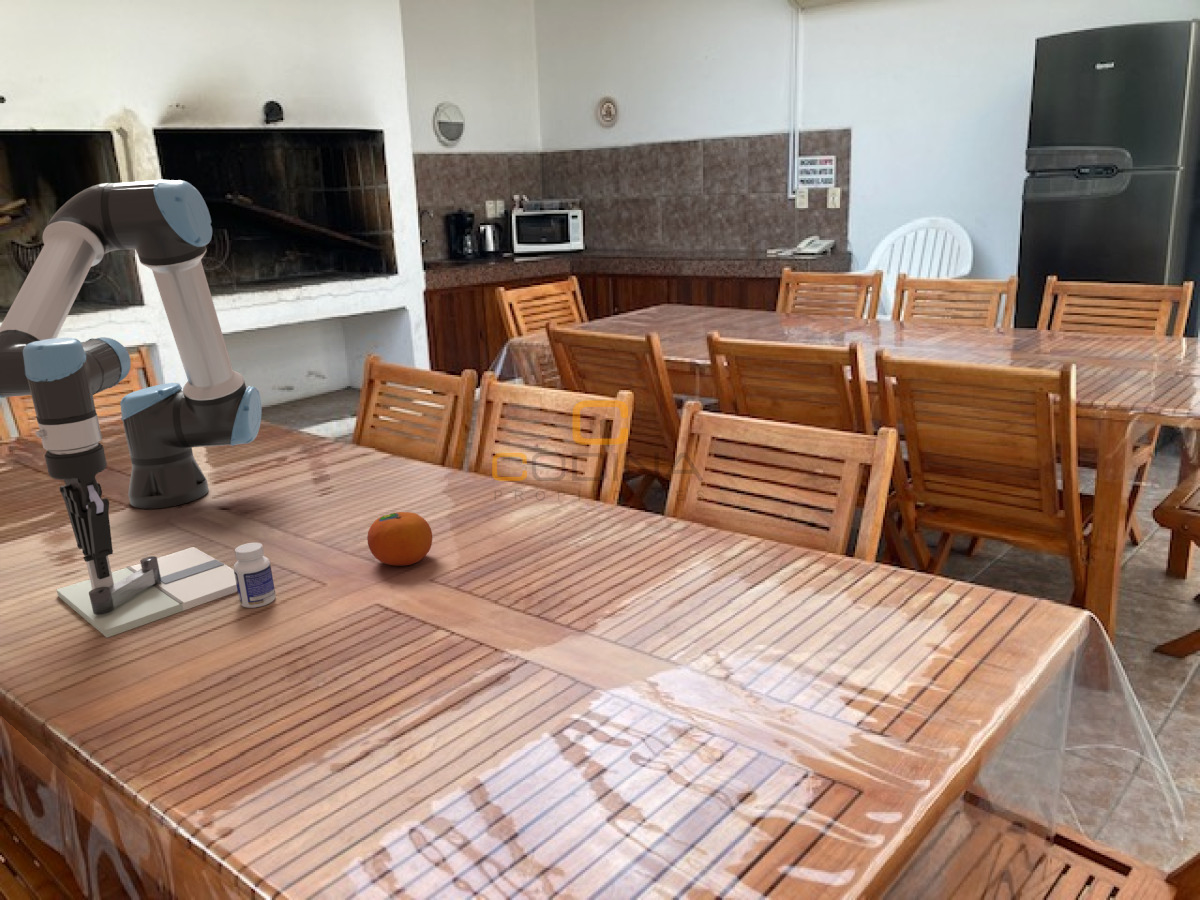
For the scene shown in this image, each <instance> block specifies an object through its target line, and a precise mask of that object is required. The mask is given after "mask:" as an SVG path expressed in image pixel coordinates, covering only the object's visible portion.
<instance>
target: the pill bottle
mask: <svg viewBox="0 0 1200 900" xmlns="http://www.w3.org/2000/svg"><path fill="white" fill-rule="evenodd" d="M264 553H265V552H264V547H263V544H262V543H260V542H248V543H243V544H241V545H239V546H237V547H236V548H235V549H234V554H235V559H236V562H235V563H234V564H233V569H234V574H235V579H236V585H237V590H238V591H237V596H238V601H239V605H241V606H242V607H244V608H248V609H249V608H252V609H254V608H259V607H264V606H266V605H268V604H271V603H272V602H273V601H274V600H275V599H276V596H277V595H276V588H275V582H274V579H273V571H272V565H271V562H270V559H269V558H268V557H267V556H264V555H265V554H264Z"/></svg>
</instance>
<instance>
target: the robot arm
mask: <svg viewBox="0 0 1200 900" xmlns="http://www.w3.org/2000/svg"><path fill="white" fill-rule="evenodd" d="M211 224H212V218H211V215H210V211H209V208H208V206H207V204H206V201H205V200H204V198H203V195H202V194H201V193H200V191H199V190H198V189H197V188H196V187H195V186H194V185H192V183H190V182H188V181H185V180H181V179H178V180H174V179H171V180H170V179H161V178H160V179H153V180H140V181H127V182H104V183H99V184H96V185H92V186H90V187H88V188H85V189H83V190H82V191H80V192H78V193H77V194H75V195H74V196H72V197H71V198H70V199H68V200H67V201H66V202H65V203H64V204H63V205H62V206H61V207H59V209H58V210H57V211H55V213H54V214H53V215H52V217H51V218H50V220H49V221H48V223H47V224H46V227H45V228H44V230H43V233H42V242H43V246H42V249H41V251H40V252H39V253H38V256H37V257H36V260H35V262H34V263H33V265H32V267H31V269H30V271H29V272H28V275H27V276H26V279H25V280H24V281H23V283H22V285H21V288H20V289H19V292H18V293H17V295H16V297H15V299H14V300H13V303H12V304H11V306H10V308H9V310H8V311H7V313H6V315H5V316H4V319H3V321H2V322H1V325H0V399H3V398H9V397H10V398H11V397H21V396H24V397H25V396H31V400H32V404H33V407H34V411H35V415H36V422H37V425H38V428H39V430H37V431H35V435H36V437H37V438H40V440H41V444H42V448H43V449H44V450H46V452H45V454H44V459H45V464H46V469H47V472H48V473H47V474H48V475H49V477H50V478H52V479H53V480H54V479H55V480H62V481H63V480H64V481H63V482H64V485H61V486H59V493H60V494H61V496H62V498H63V501H64V504H65V508H66V510H67V514H68V517H69V522H70V524H71V528H72V531H73V535H74V538H75V542H76V545H77V548H78V549H79V550H81V551H82V555H83V559H84V561H85V563H86V567H87V571H88V576H89V579H90V582H91V586H92V590H93V589H95V588H99V587H110V586H112V585H114V582H113V578H112V573H111V572H112V570H111V565H110V560H109V556H110V555H113V554H114V553H113V552H114V550H113V549H114V548H113V542H112V534H111V524H110V514H109V511H110V501H109V499H108V498H107V497H105V498H102V495H103V490H102V486H101V484H100V482H97V479H96V475H97V474H98V473H101V472H103V471H104V470H106V468H107V463H108V462H107V459H106V454H105V448H104V445H103V444H102V443H100V442H101V440H102V439H103V437H102V432H101V431H102V430H101V427H100V421H99V418H98V413H97V410H96V406H95V405H96V404H95V400H94V395H96V394H98V393H101V392H103V391H105V390H107V389H111V388H113V387H116V386H117V385H118V384H119V383H120V382H121V381H123V380H124V379H125V378H126V377H127V376H128V374H129V372H130V370H131V364H132V362H131V357H130V354H129V351H128V350H127V349H126V348H125V346H124V345H123V344H122V343H120V342H119V341H118V340H116V339H115V338H110V337H97V338H89V339H87V340H85V341H80V340H79V339H77V338H73V337H58V335H59V334H60V333H61V330H62V327H63V326H64V323H65V321H66V319H67V317H68V316H69V313H70V311H71V308H72V307H73V304H74V302H75V300H76V298H77V297H78V294H79V293H80V290H81V288H82V286H83V284H84V282H85V279H86V278H87V276H88V273H89V271H90V269H91V267H95V266H96V265H98V264H99V263H101V261H102V260H103V258H104V256H105V255H106V254H108V253H110V252H114V251H122V250H123V251H126V250H128V251H129V250H130V251H131V250H132V251H133V250H135V251H136V254H137V257H138V259H139V263H140V264H141V265H143V266H144V267H147V268H149V269H150V270H151V271H152V273H153V277H154V279H155V284H156V286H157V289H158V293H159V295H160V299H161V301H162V304H163V309H164V311H165V314H166V316H167V320H168V323H169V326H170V330H171V332H172V335H173V339H174V342H175V345H176V347H177V350H178V354H179V357H180V360H181V364H182V367H183V369H184V371H185V376H186V379H187V382H185V384H184V386H183V387H182V386H181V384H180V383H179V382H168V383H162V384H157V385H152V386H149V387H145V388H141V389H138V390H136V391H132V392H130V393H128V394H126V395H125V396H123V397H122V398H121V400H120V404H119V405H120V413H121V421H122V423H123V429H124V434H125V438H126V444H127V447H128V452H129V457H130V462H131V473H130V479H129V486H128V493H127V494H128V499H129V504H130V506H132V507H134V508H137V509H144V510H145V509H147V510H148V509H149V510H150V509H151V510H152V509H163V508H170V507H176V506H180V505H183V504H188V503H191V502H194V501H196V500H198V499H201V498H202V497H204V496H206V494H208V493H209V490H210V489H209V484H208V479H207V477H206V476H205V474H204V472H203V471H202V469H201V467H200V466H199V464H198V462H197V460H196V459H195V456H194V453H193V452H194V451H193V449H192V448H204V447H217V446H232V447H234V446H235V445H236V446H237V445H243V444H244V445H246V444H250V443H252V442H254V440H255V439H256V438H257V436H258V434H259V432H260V431H259V430H260V427H261V421H262V398H261V395H260V391H259V390H258V389H257V388H256V387H255V386H252V385H249V386H247V384H246V382H245V378H244V376H243V375H242V374H241V373H240V372H239V371H236V370H233V367H232V363H231V358H230V355H229V352H228V349H227V346H226V341H225V338H224V335H223V332H222V331H223V330H222V327H221V325H220V322H219V321H220V320H219V318H218V315H217V310H216V308H215V304H214V301H213V297H212V294H211V291H210V287H209V284H208V281H207V275H206V273H205V269H204V267H203V263H202V262H203V261H202V259H203V257H205V254H206V253H207V245H208V244H209V243H210V242H211V241H212V236H213V227H212V225H211Z"/></svg>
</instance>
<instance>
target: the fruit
mask: <svg viewBox="0 0 1200 900" xmlns="http://www.w3.org/2000/svg"><path fill="white" fill-rule="evenodd" d="M366 539H367V544H368V545H367V546H368V548H369V551H370V553H371V554H372V555H373V557H374V558H376V560H378V561H379V562H380V563H383V564H386V565H389V566H396V567H398V566H399V567H400V566H410V565H413V564H416V563H418V562H419V561H421V560H422V559H424V558H425V557H426V555H428V553H429V551H431V547H432V545H433V531H432V528H431V526H430V524H429V522H428V521H427V520H426V519H425V518H424V517H422V515H421V516H420V515H419V514H418V513H416V512H409V511H395V512H392V513H389V514H385V515H382V516H380V517H378V518H377V519H376V520H375V521H373V523H371V525H370V527H369V529H368V531H367V537H366Z"/></svg>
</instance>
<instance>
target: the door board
mask: <svg viewBox="0 0 1200 900" xmlns="http://www.w3.org/2000/svg"><path fill="white" fill-rule="evenodd" d="M157 561H158V566H159V571H160V575H161V580H162V581H161V583H159V584H157V585H153V586H150V587H148V588H146V589H145V590H143V591H141V592H140V593H138V594H136V595H135V596H133V597H132V598H130V599H128V600H127V601H125V602H123V603H122V604H120V605H118V606H117V607H115V608H114V610H112V611H111V612H109V613H106V614H101V615H95V614H93V610H92V605H91V601H90V597H89V592H90V591H91V590H92V586H91V582H90V578H89V579H86V580H82V581H79V582H76V583H73V584H69V585H66V586H63V587H60V588H56V594H57V597H58V598H60V600H61V601H63V603H65V604H66V605H68V606H69V607H70V608H71V609H72V610H74V611H75V612H76V613H77V614H78V615H79V616H80V617H82V618H83V619H84V620H85V621H86V622H88V623H89V624H90V625H91V626H93V628H94V629H96V630H97V632H99V633H100V634H102V635H103V636H104V637H105V638H110V637H113V636H115V635H119V634H121V633H124V632H128V631H130V630H133V629H135V628H139V627H141V626H144V625H147V624H150V623H152V622H155V621H159V620H161V619H164V618H166V617H170V616H172V615H175V614H178V613H181V612H183V611H187V610H189V609H192V608H195V607H197V606H200V605H203V604H206V603H209V602H211V601H215V600H217V599H220V598H223V597H226V596H228V595H231V594H235V593H238V590H237V585H236V579H235V574H234V568H233V567H230V566H228V565H227V564H225V563H223V562H222V561H220V560H218V559H216V558H214V557H212V556H211V555H209V554H207V553H205V552H203V551H202V550H200V549H198V548H197V547H195V546H192V547H188V548H185V549H182V550H178V551H175V552H173V553H169V554H166V555H163V556H160V557H159V556H158V557H157ZM140 569H142V567H141V562H140V563H137V564H134V565H131V566H130V565H129V566H126V567H124V568H121V569H118V570H115V571H111V573H112V578H113V582H114V584H115V583H117V582H119V581H121V580H122V579H124V578H126V577H128V576H129V575H131V574H133V573H135V572H136V571H138V570H140Z"/></svg>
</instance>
